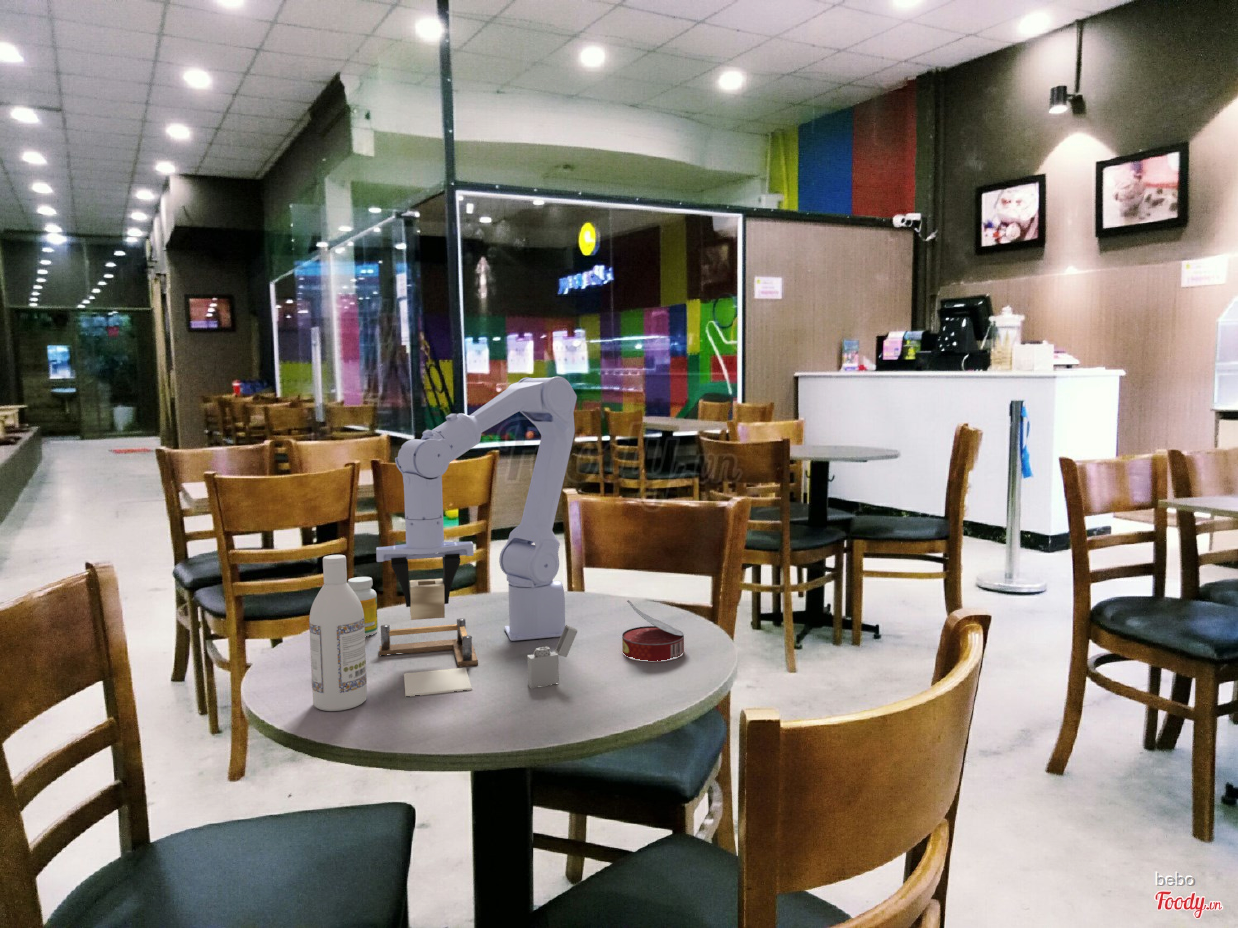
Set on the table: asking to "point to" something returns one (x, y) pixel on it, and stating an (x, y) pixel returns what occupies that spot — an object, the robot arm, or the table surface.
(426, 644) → the wooden rail
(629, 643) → the canned food
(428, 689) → the coaster
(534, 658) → the lighter
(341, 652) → the bath foam
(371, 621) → the supplement bottle
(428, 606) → the hollow wooden cube
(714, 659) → the table surface
